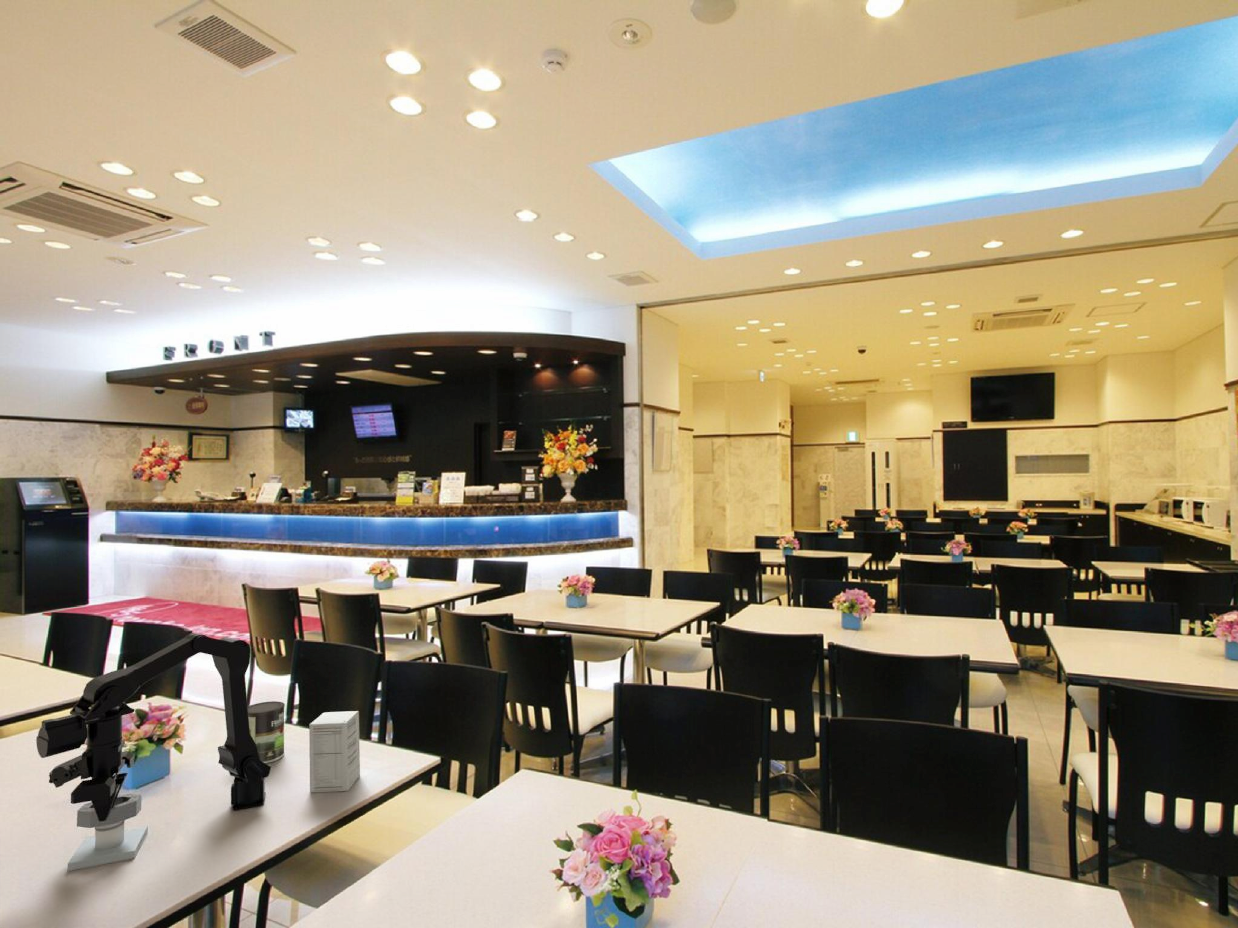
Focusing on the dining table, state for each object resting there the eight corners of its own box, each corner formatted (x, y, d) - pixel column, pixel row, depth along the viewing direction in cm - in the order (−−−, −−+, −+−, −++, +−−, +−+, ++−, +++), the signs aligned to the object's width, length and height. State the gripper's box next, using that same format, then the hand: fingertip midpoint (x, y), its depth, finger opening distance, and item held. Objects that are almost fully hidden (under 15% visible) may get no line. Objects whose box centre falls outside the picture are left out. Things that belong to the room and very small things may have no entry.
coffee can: (291, 750, 193) (291, 700, 194) (272, 765, 183) (272, 712, 183) (255, 750, 193) (255, 700, 194) (234, 765, 183) (234, 713, 183)
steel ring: (144, 805, 147) (144, 790, 147) (132, 820, 138) (133, 804, 138) (87, 815, 143) (88, 800, 143) (71, 831, 134) (72, 815, 134)
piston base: (147, 832, 147) (147, 802, 148) (134, 857, 137) (134, 825, 138) (85, 844, 143) (85, 813, 143) (67, 870, 133) (67, 837, 133)
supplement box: (361, 775, 175) (360, 710, 176) (347, 791, 166) (347, 722, 167) (323, 776, 175) (323, 711, 175) (308, 792, 166) (308, 723, 166)
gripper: (71, 731, 143) (70, 806, 142) (36, 764, 125) (36, 850, 125) (134, 723, 147) (134, 796, 146) (109, 754, 130) (109, 836, 129)
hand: (104, 818), depth 137 cm, fingers closed on steel ring, 2 cm apart
